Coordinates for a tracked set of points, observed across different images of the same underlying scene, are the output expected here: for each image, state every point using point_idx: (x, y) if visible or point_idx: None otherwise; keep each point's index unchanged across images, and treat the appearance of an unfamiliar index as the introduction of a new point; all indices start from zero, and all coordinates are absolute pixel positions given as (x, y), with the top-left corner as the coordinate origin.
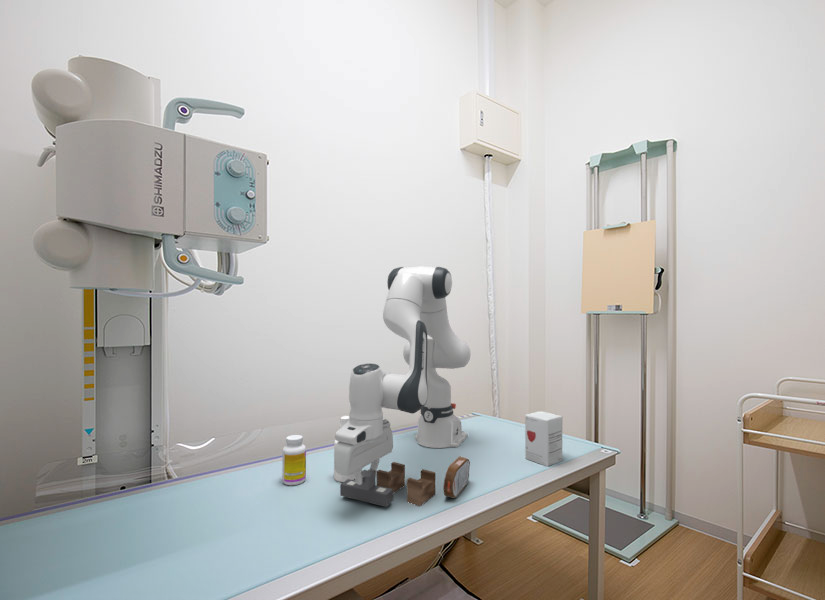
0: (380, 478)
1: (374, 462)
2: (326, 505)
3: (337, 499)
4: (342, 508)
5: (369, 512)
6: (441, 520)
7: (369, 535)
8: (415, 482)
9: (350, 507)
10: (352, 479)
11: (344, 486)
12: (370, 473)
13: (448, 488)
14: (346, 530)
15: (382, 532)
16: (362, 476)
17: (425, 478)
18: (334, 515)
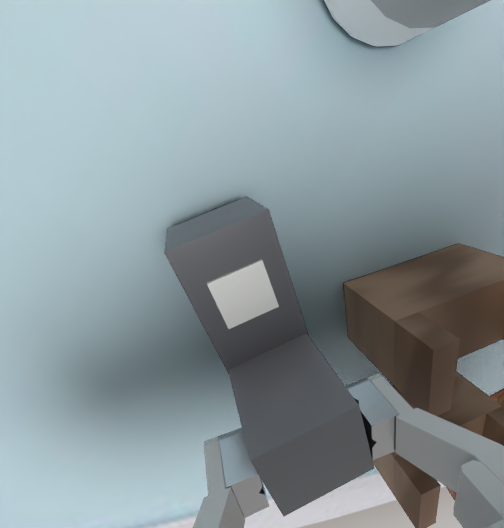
0: (398, 346)
1: (456, 504)
2: (52, 236)
3: (152, 212)
4: (124, 319)
5: (207, 403)
6: (329, 506)
7: (113, 518)
8: (415, 514)
9: (165, 331)
10: (381, 44)
11: (183, 282)
12: (336, 476)
13: (453, 494)
14: (47, 475)
15: (162, 514)
16: (255, 505)
17: (486, 431)
18: (49, 357)
